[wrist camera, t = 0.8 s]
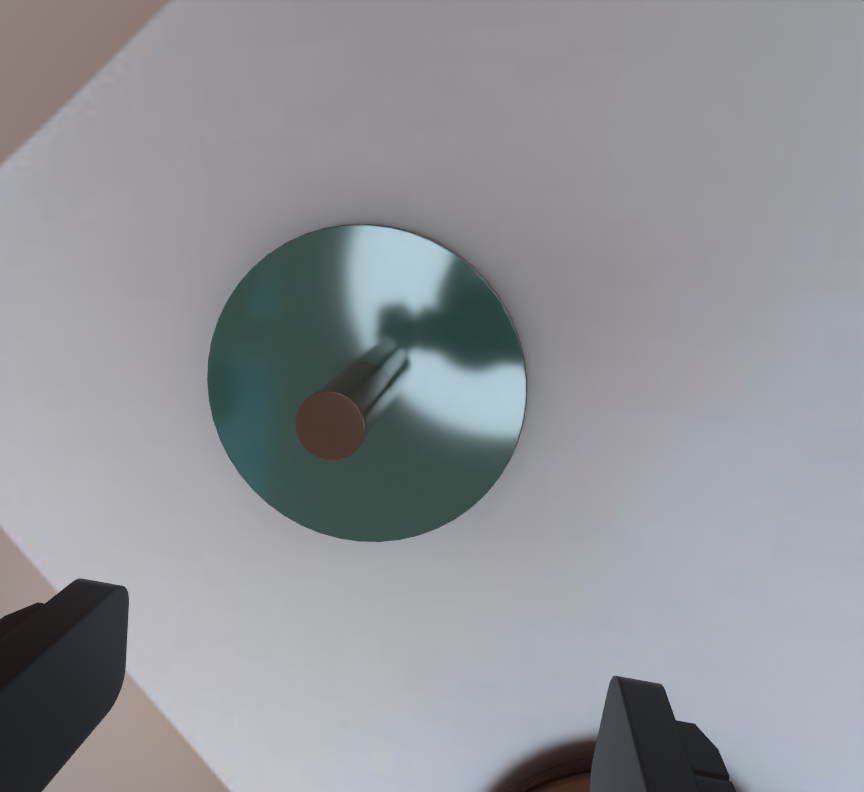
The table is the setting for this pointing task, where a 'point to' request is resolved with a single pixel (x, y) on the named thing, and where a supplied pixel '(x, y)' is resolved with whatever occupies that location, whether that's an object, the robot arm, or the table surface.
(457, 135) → the table surface
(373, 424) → the lid
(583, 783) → the wooden thread spool stand
